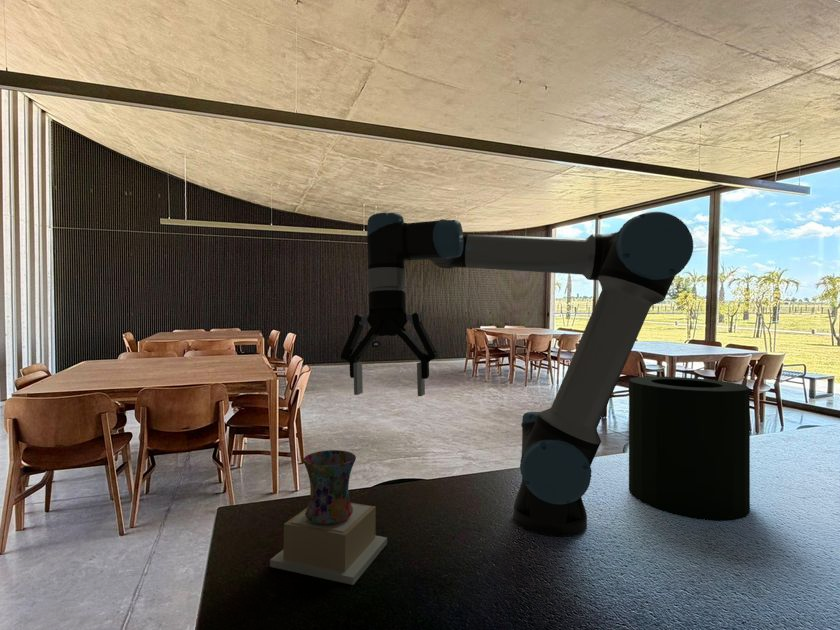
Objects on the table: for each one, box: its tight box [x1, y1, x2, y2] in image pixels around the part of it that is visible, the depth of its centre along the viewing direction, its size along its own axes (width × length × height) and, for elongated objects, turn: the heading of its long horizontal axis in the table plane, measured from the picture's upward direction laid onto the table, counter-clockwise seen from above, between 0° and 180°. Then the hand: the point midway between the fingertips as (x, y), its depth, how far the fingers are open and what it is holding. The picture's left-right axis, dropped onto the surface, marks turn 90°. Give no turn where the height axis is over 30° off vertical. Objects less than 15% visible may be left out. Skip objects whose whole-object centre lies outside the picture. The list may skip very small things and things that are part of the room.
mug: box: [302, 449, 357, 524], centre depth 81 cm, size 12×9×11 cm
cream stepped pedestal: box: [269, 502, 388, 586], centre depth 81 cm, size 16×14×7 cm
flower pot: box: [628, 376, 751, 522], centre depth 108 cm, size 25×25×28 cm
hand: (389, 394), depth 90 cm, fingers open, 13 cm apart
